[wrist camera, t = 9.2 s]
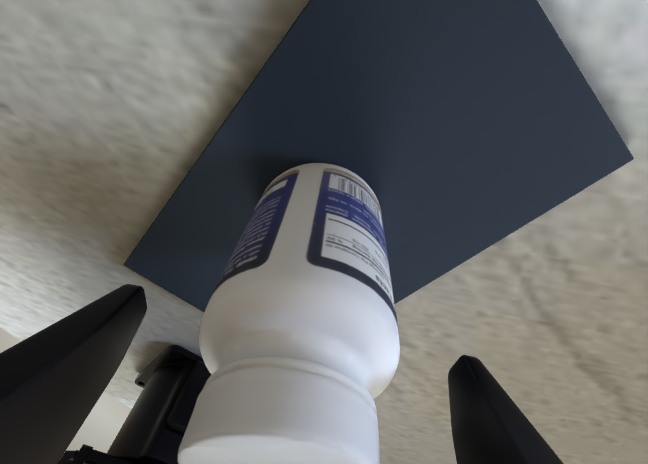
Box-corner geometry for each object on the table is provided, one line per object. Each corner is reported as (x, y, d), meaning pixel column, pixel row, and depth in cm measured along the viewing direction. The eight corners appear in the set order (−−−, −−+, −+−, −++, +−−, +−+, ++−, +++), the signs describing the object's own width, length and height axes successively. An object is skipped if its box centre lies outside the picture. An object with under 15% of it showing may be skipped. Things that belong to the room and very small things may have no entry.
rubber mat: (295, 358, 21) (294, 365, 21) (128, 259, 17) (122, 265, 17) (625, 154, 12) (635, 159, 12) (427, -163, 8) (431, -173, 8)
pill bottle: (275, 265, 16) (194, 516, 8) (247, 165, 13) (73, 407, 5) (383, 260, 15) (414, 533, 7) (380, 153, 12) (427, 414, 4)
